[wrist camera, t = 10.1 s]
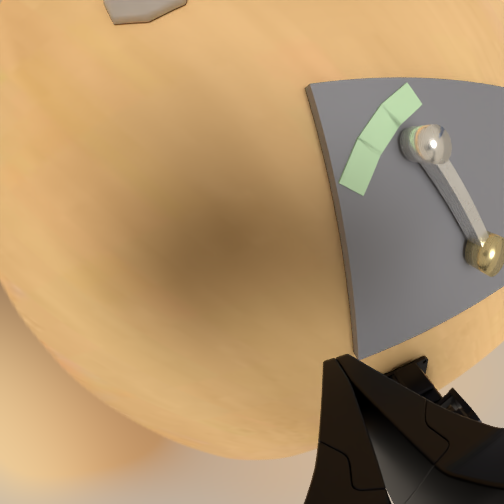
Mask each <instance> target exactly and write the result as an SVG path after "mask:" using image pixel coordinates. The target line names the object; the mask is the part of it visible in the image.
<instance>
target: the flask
mask: <svg viewBox="0 0 504 504" xmlns="http://www.w3.org/2000/svg"><path fill="white" fill-rule="evenodd" d="M186 2H187V0H104V6H105V8H106V10H107V12H108V14H109V16H110V18H111V20H112V22H113V24H122V23H135V22H150V21H151V20H153V19H155V18H157V17H159V16H161V15H163V14H165V13H167V12H169V11H172V10H174V9H176V8H178V7H180V6H183V5H185V4H186Z"/></svg>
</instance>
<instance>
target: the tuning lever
mask: <svg viewBox="0 0 504 504" xmlns="http://www.w3.org/2000/svg"><path fill="white" fill-rule="evenodd" d="M400 145H401V149H402V152H403V154H404V155H405V157H406V158H407V159H408V160H410V161H412V162H419V163H420V164H421V165H422V167H423V168H424V169H425V171H426V172H427V174H428V175H429V177H430V178H431V179H432V181H433V182H434V184H435V185H436V187H437V189H438V190H439V192H440V193H441V195H442V196H443V198H444V200H445V201H446V203H447V204H448V206H449V208H450V209H451V211H452V213H453V215H454V216H455V218H456V220H457V222H458V223H459V225H460V227H461V229H462V231H463V233H464V234H465V236H466V238H467V240H468V241H467V244H466V249H465V258H466V261H467V263H468V264H469V265H470V266H472V267H474V268H476V269H477V270H479V271H481V272H483V273H484V274H486V275H488V276H490V277H493V276H495V275H497V274H498V273H499V271H500V270H501V268H502V267H503V265H504V238H503V237H501V236H499V235H496V234H494V233H491V232H489V231H486V228H485V226H484V224H483V222H482V219H481V217H480V215H479V213H478V211H477V209H476V207H475V205H474V203H473V201H472V199H471V197H470V195H469V193H468V191H467V190H466V188H465V186H464V184H463V182H462V180H461V179H460V177H459V175H458V174H457V172H456V170H455V168H454V167H453V165H452V164H451V162H450V160H449V158H450V156H451V152H452V144H451V139H450V136H449V134H448V132H447V131H446V130H445V129H444V128H443V127H442V126H440V125H437V124H433V125H422V126H412V127H408V128H406V129H405V130H404V131H403V132H402V134H401V138H400Z"/></svg>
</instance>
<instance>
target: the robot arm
mask: <svg viewBox="0 0 504 504" xmlns="http://www.w3.org/2000/svg"><path fill="white" fill-rule="evenodd" d="M427 363H428V359H427V357H426V356H424V357H422V358H420V359H418V360H416V361H414V362H412V363H409V364H407V365H405V366H403V367H401V368H399V369H397V370H394V371H392V372H390V373H388V374H385V375H383V374H381V373H380V372H378V371H376V370H375V369H373V368H371V367H369V366H368V365H366V364H364V363H363V362H361V361H359V360H358V359H356V358H354V357H353V356H351V355H349V354H345V355H342V356H339V357H337V358H336V359H335V358H332V359H329V360H326V361H324V362H323V378H322V398H321V414H320V427H319V439H318V448H317V457H316V463H315V469H314V473H313V476H312V480H311V484H310V487H309V490H308V493H307V496H306V499H305V502H304V504H391V501H390V499H389V497H388V494H387V491H388V493H389V495H390V497H391V499H392V501H393V503H394V504H504V428H498V427H493V426H490V425H487V424H484V423H482V422H481V421H480V419H479V418H478V416H477V415H476V413H475V412H474V411H473V410H472V409H471V407H470V406H469V405H468V404H467V403H466V402H465V401H464V400H463V399H462V397H461V396H460V395H459V394H458V393H457V392H456V391H455V390H454V389H453V388H452V389H451V390H449V392H448V393H447V394H446V395H445V396H444V397H442V396H441V394H440V393H439V392H438V391H437V389H436V388H435V387H434V385H433V383H432V382H431V381H430V380H429V378H428V377H427V376H426V375H425V374H426V368H427ZM386 489H387V490H386Z"/></svg>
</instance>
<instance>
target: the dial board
mask: <svg viewBox="0 0 504 504" xmlns="http://www.w3.org/2000/svg"><path fill="white" fill-rule="evenodd" d="M305 90H306V93H307V96H308V100H309V103H310V107H311V110H312V114H313V117H314V121H315V125H316V128H317V132H318V136H319V140H320V144H321V148H322V152H323V156H324V160H325V164H326V169H327V173H328V178H329V182H330V187H331V192H332V196H333V201H334V206H335V212H336V217H337V222H338V228H339V234H340V240H341V246H342V252H343V259H344V265H345V272H346V280H347V288H348V296H349V304H350V314H351V324H352V335H353V348H354V354H355V355H356V357H357V359H358V360H361V359H364V358H366V357H369V356H371V355H374V354H376V353H379V352H381V351H383V350H386V349H388V348H391V347H393V346H395V345H397V344H400V343H402V342H404V341H406V340H408V339H411V338H413V337H415V336H417V335H419V334H421V333H423V332H425V331H427V330H429V329H431V328H433V327H435V326H437V325H439V324H441V323H443V322H445V321H447V320H448V319H450V318H452V317H454V316H456V315H458V314H459V313H461V312H463V311H465V310H466V309H468V308H470V307H471V306H473V305H475V304H477V303H478V302H480V301H481V300H483V299H485V298H486V297H488V296H489V295H491V294H493V293H494V292H496V291H497V290H499V289H500V288H502V287H503V286H504V265H503V267H502V268H501V270H500V271H499V273H498V274H497V275H495V276H493V277H490V276H488V275H486V274H484V273H483V272H481V271H479V270H477V269H476V268H474V267H472V266H470V265H469V264H468V263H467V261H466V258H465V249H466V244H467V241H468V240H467V238H466V236H465V234H464V233H463V231H462V229H461V227H460V225H459V223H458V222H457V220H456V218H455V216H454V215H453V213H452V211H451V209H450V208H449V206H448V204H447V203H446V201H445V200H444V198H443V196H442V195H441V193H440V192H439V190H438V189H437V187H436V185H435V184H434V182H433V181H432V179H431V178H430V177H429V175H428V174H427V172H426V171H425V169H424V168H423V167H422V165H421V164H420V163H419V162H412V161H410V160H408V159H407V158H406V157H405V155H404V154H403V152H402V149H401V145H400V138H401V134H402V132H403V131H404V130H405V129H406V128H408V127H412V126H422V125H433V124H437V125H440V126H442V127H443V128H444V129H445V130H446V131H447V132H448V134H449V136H450V139H451V144H452V152H451V156H450V158H449V160H450V162H451V164H452V165H453V167H454V168H455V170H456V172H457V174H458V175H459V177H460V179H461V180H462V182H463V184H464V186H465V188H466V190H467V191H468V193H469V195H470V197H471V199H472V201H473V203H474V205H475V207H476V209H477V211H478V213H479V215H480V217H481V219H482V222H483V224H484V226H485V228H486V231H489V232H491V233H494V234H496V235H499V236H501V237H503V238H504V87H500V86H494V85H488V84H482V83H475V82H467V81H458V80H447V79H433V78H366V79H351V80H339V81H330V82H321V83H313V84H309V85H308V86H307V87H306V88H305Z"/></svg>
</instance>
